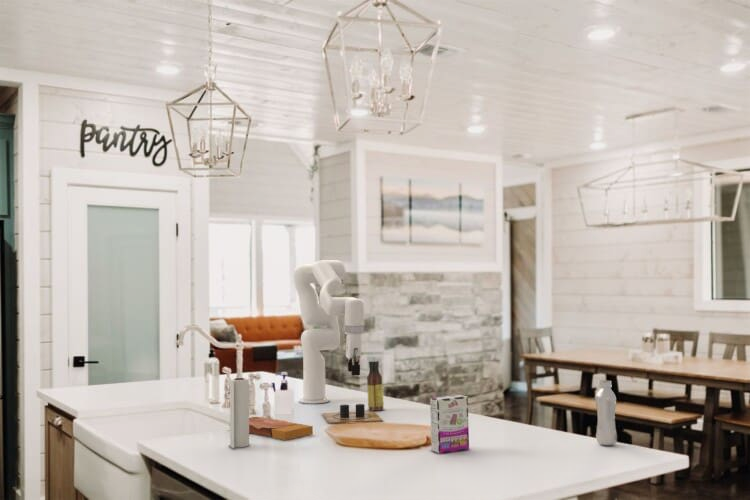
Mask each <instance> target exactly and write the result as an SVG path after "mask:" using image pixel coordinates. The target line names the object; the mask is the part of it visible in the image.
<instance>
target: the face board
mask: <svg viewBox="0 0 750 500" xmlns="http://www.w3.org/2000/svg"><path fill="white" fill-rule="evenodd" d="M322 415H323V417H324V419H325V420H326V422H327V424H329V425H334V424H335V425H337V424H339V423H340V424H347V423H346V422H362V423H379V422H381V423H383V422H384V420H383V419H382V418H381V417H380V416H379V414H377V413H376V411H371V410H365V416H364V417H356V411H349V418H340V411H337V412H323V413H322Z"/></svg>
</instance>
